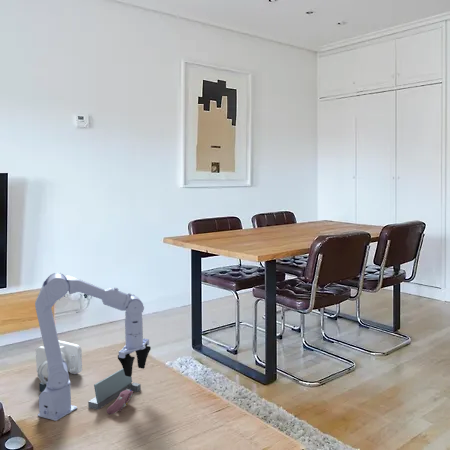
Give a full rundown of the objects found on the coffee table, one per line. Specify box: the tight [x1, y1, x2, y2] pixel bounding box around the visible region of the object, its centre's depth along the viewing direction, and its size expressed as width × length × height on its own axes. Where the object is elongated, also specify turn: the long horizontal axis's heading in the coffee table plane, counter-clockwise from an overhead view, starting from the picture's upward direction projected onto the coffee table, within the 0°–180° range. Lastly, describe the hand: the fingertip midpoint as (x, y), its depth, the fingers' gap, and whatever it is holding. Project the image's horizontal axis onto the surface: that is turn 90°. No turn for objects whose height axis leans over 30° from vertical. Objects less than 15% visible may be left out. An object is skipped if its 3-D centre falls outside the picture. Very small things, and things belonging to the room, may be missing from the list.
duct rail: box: [87, 382, 142, 411], centre depth 166 cm, size 18×8×2 cm, turn 155°
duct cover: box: [93, 367, 133, 403], centre depth 165 cm, size 18×6×1 cm
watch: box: [37, 360, 48, 393], centre depth 171 cm, size 6×8×11 cm
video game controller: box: [106, 389, 134, 415], centre depth 158 cm, size 10×5×7 cm, turn 169°
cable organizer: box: [35, 339, 83, 379], centre depth 185 cm, size 15×11×12 cm
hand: (135, 371), depth 164 cm, fingers open, 7 cm apart
